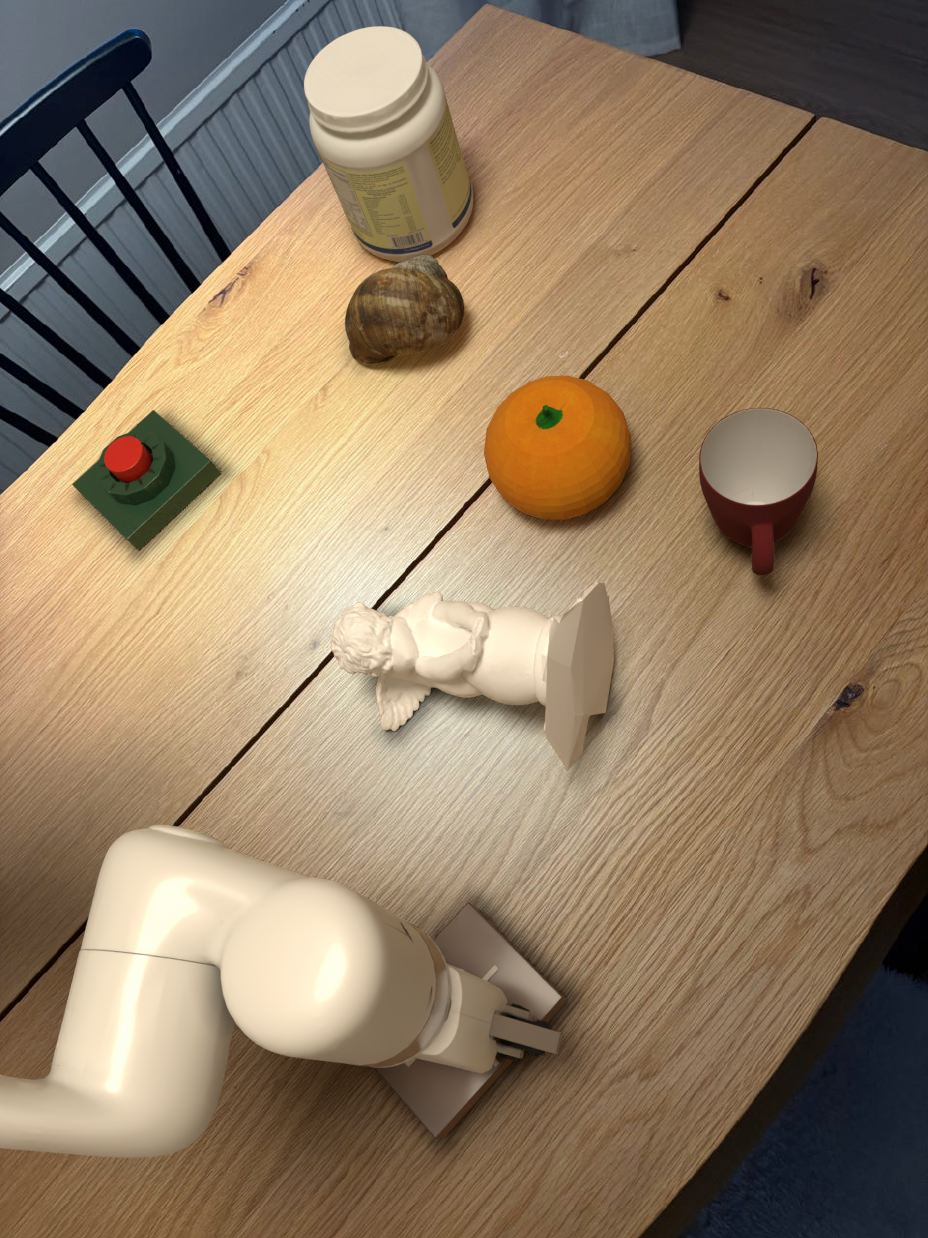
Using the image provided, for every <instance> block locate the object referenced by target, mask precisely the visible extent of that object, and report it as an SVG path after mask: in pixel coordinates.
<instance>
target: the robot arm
mask: <svg viewBox="0 0 928 1238" xmlns="http://www.w3.org/2000/svg"><path fill="white" fill-rule="evenodd" d="M88 913H89V914H88V918H87V922H86V926H85V930H84V933H83V938H82V943H81V946H80V950H79V951H78V956H77V960H76V964H75V968H74V972H73V976H72V980H71V985H70V989H69V992H68V993H69V994H68V997H67V1001H66V1005H65V1009H64V1013H63V1018H62V1021H61V1025H60V1029H59V1033H58V1037H57V1041H56V1045H55V1049H54V1053H53V1057H52V1062H51V1067H50V1071H49V1073H48V1074H47V1076H45V1077H44V1078H38V1079H30V1078H23V1077H21V1078H20V1077H15V1076H8V1075H4V1074H0V1149H3V1150H4V1149H5V1150H12V1151H13V1150H14V1151H27V1152H28V1151H29V1152H30V1151H31V1152H40V1153H52V1154H64V1155H74V1156H75V1155H76V1156H87V1157H98V1158H99V1157H101V1158H115V1159H144V1158H145V1159H146V1158H156V1157H157V1158H159V1157H164V1156H168V1155H171V1154H175V1153H178V1152H180V1151H182V1150H184V1149H186V1148H188V1147H189V1146H191V1145H193V1144H194V1143H195V1142H196V1141H198V1140H199V1139H200V1138H201V1137H202V1136H203V1134H204V1133H205V1132H206V1130H207V1129H208V1127H209V1126H210V1124H211V1122H212V1121H213V1119H214V1116H215V1114H216V1111H217V1108H218V1104H219V1101H220V1097H221V1094H222V1090H223V1085H224V1081H225V1076H226V1072H227V1071H226V1070H227V1065H228V1061H229V1055H230V1049H231V1045H232V1038H233V1033H234V1028H235V1024H236V1026H237V1027H238V1028H239V1029H240V1030H241V1031H242V1032H243V1034H244V1035H245V1036H246V1037H247V1038H249V1040H250V1041H252V1042H253V1043H255V1044H256V1045H257V1046H259V1047H260V1048H263V1049H265V1050H266V1051H269V1052H272V1053H274V1054H278V1055H281V1056H284V1057H288V1058H289V1057H290V1058H296V1059H305V1060H313V1061H321V1062H330V1063H337V1064H338V1063H339V1064H347V1065H352V1066H359V1067H367V1068H368V1067H369V1068H374V1067H375V1068H385V1067H392V1066H396V1065H399V1064H402V1063H405V1062H407V1061H409V1060H411V1059H413V1058H417V1059H421V1060H425V1061H430V1062H434V1063H439V1064H444V1065H448V1066H453V1067H457V1068H461V1069H465V1070H469V1071H473V1072H477V1073H485V1072H487V1071H489V1070H490V1069H491V1068H492V1066H493V1063H494V1060H495V1057H496V1053H497V1052H498V1054H499V1057H501V1058H505V1059H509V1060H513V1062H518V1061H519V1059H521V1060H522V1059H523V1057H524V1053H525V1051H526V1052H528V1055H529V1056H532V1057H535V1058H540V1056H545V1055H546V1053H549V1054H553V1055H558V1054H559V1049H560V1045H561V1042H562V1037H563V1033H562V1032H560V1031H556V1030H553V1029H552V1027H551V1026H550V1025H549V1024H548V1023H547V1022H545V1021H542V1020H538V1019H537V1022H535V1021H534V1022H531V1019H532V1015H533V1013H532V1012H529V1010H528V1009H526V1008H524V1007H522V1006H520V1005H517V1004H513V1003H512V1005H506V1003H507V998H506V996H505V994H504V993H503V991H502V990H501V989H500V988H498V987H497V986H495V985H493V984H491V983H489V982H487V981H485V980H483V979H481V978H479V977H477V976H474V975H472V974H470V973H468V972H466V971H464V970H463V969H459V968H457V967H454V966H452V965H450V964H448V963H446V960H445V958H444V956H443V954H442V952H441V951H440V949H439V947H438V946H437V945H436V943H435V942H434V941H433V938H432V937H431V936H430V935H429V934H427V933H426V932H425V931H424V930H422V929H421V928H419V927H418V926H416V925H414V924H412V923H411V922H409V921H407V920H406V919H404V918H402V917H400V916H399V915H397V914H395V913H393V911H390V910H388V909H387V908H385V907H384V906H382V905H380V904H379V903H377V902H375V901H374V900H372V899H370V898H368V897H367V896H365V895H363V894H362V893H360V892H358V891H356V890H355V889H354V888H351V887H350V886H348V885H345V884H343V883H340V882H339V881H335V880H331V879H329V878H328V879H327V878H323V877H313V876H311V875H306V874H303V873H300V872H297V871H294V870H291V869H288V868H285V867H283V866H280V865H277V864H273V863H271V862H268V861H265V860H262V859H259V858H257V857H253V856H250V855H248V854H245V853H243V852H239V851H236V850H234V849H231V848H230V847H229V845H227V844H226V843H224V842H223V841H221V840H219V839H218V838H216V837H213V836H211V835H208V834H207V833H204V832H200V831H197V830H195V829H190V828H186V827H182V826H176V825H172V824H171V825H170V824H153V825H149V826H148V827H147V828H137V829H133V830H129V831H127V832H125V833H123V834H122V835H120V836H119V837H117V839H115V840H114V841H113V842H112V843H111V845H110V847H109V849H108V850H107V852H106V854H105V857H103V861H102V865H101V867H100V870H99V873H98V877H97V881H96V884H95V889H94V893H93V896H92V901H91V906H90V908H89V912H88ZM502 1013H503V1014H506V1017H505V1016H502ZM496 1037H497V1038H501V1039H500V1043H497V1042H496V1040H495V1039H496ZM521 1049H524V1050H521ZM375 1068H374V1069H375Z"/></svg>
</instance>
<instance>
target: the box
mask: <svg viewBox="0 0 928 1238" xmlns="http://www.w3.org/2000/svg"><path fill="white" fill-rule="evenodd" d="M127 436H130V437H134V438H137V439H138V440H139V441H140V442H141V443H142V444H143V445H144V447H145V448H146V449H147V450H148V451H149V452H150V454H151V459H152V461H151V466H150V468H149V470H148V471H147V472H146V473H145V474H144V475H143V476H142V477H141V478H140V479H138V480H135V481H132V482H124V481H121V480H119V479H118V478H117V477H116V476H115V475H114V474H113V473H112V472H111V471H110V470H109V469H108V468H107V467H106V465H105V462H104V456H105V452H106V450H107V449H108V447H109V446H110V445H111V444H112V443H113V442H114V441H116V440H117V439H119V438H122V437H127ZM221 473H222V472H221V471H220V470H219V468H217V467H216V465H215V464H214V462H213V461H212V460H211V459H210V458H209V457H207V456H206V454H204V453H203V452H202V451H201V450H200V449H199V448H198V447H196V446H195V445H194V444H193V443H192V442H191V441H189V440H188V439H187V438H186V437H185V436H184V435H183V434H182V433H181V432H179V431H178V430H177V429H176V428H175V427H174V426H173V425H171V424H170V423H169V422H168V421H167V420H166V419H165V418H163V416H161V415H160V414H159V413H158V412H157V411H156V410H154V409H152V410H151V411H150V412H149V413H148V414H147V415H146V416H145V417H144V418H143V419H141V420H140V421H139V422H138V423H137V424H135V426H134V427H133V428H132V429H130V430H129V431H128V432H127V433H124V434H121V435H118V436H116V437H115V438H114V439H113V440H112V441H111V442H110V443H109V444H108V445H106V446H105V447H104V448H103V450H102V451H101V454H100V456H99V458H98V459H97V461H96V462H95V463H93V464H92V465H91V466H90V467H89V468H88V469H87V470H86V471H85V472H84V473H82V474H81V475H80V476H79V477H78V478H77V479H76V480H75V481H74V482H73V483H72V486H73V488H75V489H76V490H77V492H79V493H80V495H81V496H82V497H83V498H84V499H86V501H88V502H89V503H90V505H92V507H93V508H95V509H96V510H97V512H98V513H99V514H100V515H102V516H103V517H104V519H106V520H107V522H109V523H110V524H111V525H112V526H113V527H114V528H115V529H116V530H117V532H118V533H120V534H121V535H122V536H123V538H124V539H125V540H126V541H128V542H129V543H130V544H131V545H132V546H133V547H134V548H135V549H136V550H137V551H141V550H142V549H143V548H144V547H145V546H146V545H147V544H148V543H149V542H150V541H151V540H153V539H154V537H156V535H158V534H159V533H160V532H161V531H162V530H163V529H164V528H165V527H166V526H167V525H168V524H169V523H170V522H172V520H174V518H176V517H177V516H178V515H179V514H180V513H181V512H183V510H184V509H185V508H186V507H187V506H188V505H189V504H190V503H192V501H194V500H195V499H196V498H197V497H198V496H199V495H200V494H201V493H202V492H203V491H205V490H206V488H208V486H209V485H211V484H212V483H213V482H214V481H215V480H216V479H217V478H218V477H219V476H220V475H221Z"/></svg>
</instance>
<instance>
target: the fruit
mask: <svg viewBox="0 0 928 1238" xmlns="http://www.w3.org/2000/svg"><path fill="white" fill-rule="evenodd" d="M613 398H614V397H612V396H611V394H610V393H609V392H607V391H606V390H604V389H603V388H601V387H599V386H597V385H596V384H594V383H593V382H592V381H589V380H587V379H583V378H579V377H575V376H572V375H549V376H548V375H546V376H544V377H540V378H536V379H533V380H530V381H528V382H526V383H524V384H523V385H521V386H519V387H518V388H516V389H515V390H513V391H512V392H511V393H509V395H508V396H507V397H505V398H504V400H503V401H502V402H501V403H500V404H499V405H498V406H497V407H496V409H495V411H494V413H493V414H492V417H491V419H490V422H489V424H488V425H487V427H486V431H485V439H484V447H483V457H484V462H485V465H486V469H487V473H488V477H489V479H490V481H491V483H492V484H493V486H494V487H495V489H496V490H497V492H498V493H499V494H500V496H501V497H502V499H503V500H504V501H505V502H507V503H508V504H509V505H510V506H513V507H514V508H515V509H517V510H518V511H520V513H522V514H525V515H528V516H531V517H535V518H538V519H542V520H569V519H573V518H576V517H579V516H582V515H586V514H588V513H590V512H591V511H593V510H594V509H597V507H600V506H601V505H603V504H604V503H606V502H607V501H608V499H610V497H611V496H612V495H613V494H614V493H615V492H616V490H617V489H618V488H619V487H620V486H621V484H622V482H623V479H624V477H625V475H626V473H627V470H628V468H629V466H630V463H631V450H632V435H631V432H630V428H629V425H628V422H627V419H626V416H625V413H624V411H623V410H622V409H621V406H620V405H618V403H617V402H616V400H615V399H613Z"/></svg>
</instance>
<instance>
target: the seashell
mask: <svg viewBox="0 0 928 1238" xmlns="http://www.w3.org/2000/svg"><path fill="white" fill-rule="evenodd" d="M464 317H465V302H464V297H463V295H462V293H461V291H460V290H459V288H458V286H457V285H456V284H455V283H454V282H453V281H451V280H450V279H449V277H448V274H447V272H446V271H445V269H444V268H443V266H442V265H440V263H439V260H438V258H436V257H434V256H432V255H431V256H428V255H422V256H417V257H415V258H413V259H412V260H407V261H403V262H398V263H397V264H395V265H394V266H393V267H388V268H383V269H381V270H378V271H376V272H373V273H372V274H370V275H369V276H367V277H366V278H365V279H363V281H362V282H361V283H360V284H359V285H358V286H357V287H356V289H355V291H354V292H353V294H352V296H351V298H350V299H349V303H348V305H347V308H346V311H345V317H344V330H345V333H346V336H347V340H348V350H349V353H350V355H351V356H352V358H353V359H354V360H356V361H357V362H359V363H361V364H363V365H368V366H372V365H373V366H377V365H380V364H384V363H388V362H389V361H392V360H393V359H395V358H397V357H398V356H405V355H411V354H417V353H423V352H426V351H427V352H428V351H430V350H431V351H432V350H434V349H437V348H440V347H441V346H443V345H446V344H447V343H448V342H450V341H451V340H452V339H453V338H454V336H455V335H456V334H457V333H458V332H459V330H460V328H461V326H462V323H463V320H464Z"/></svg>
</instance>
